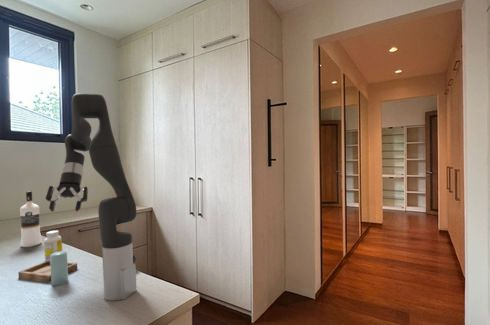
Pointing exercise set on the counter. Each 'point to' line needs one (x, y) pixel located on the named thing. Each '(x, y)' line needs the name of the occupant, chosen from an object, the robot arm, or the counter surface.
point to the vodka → (30, 223)
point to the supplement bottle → (52, 244)
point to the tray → (42, 271)
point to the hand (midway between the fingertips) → (64, 210)
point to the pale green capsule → (59, 268)
